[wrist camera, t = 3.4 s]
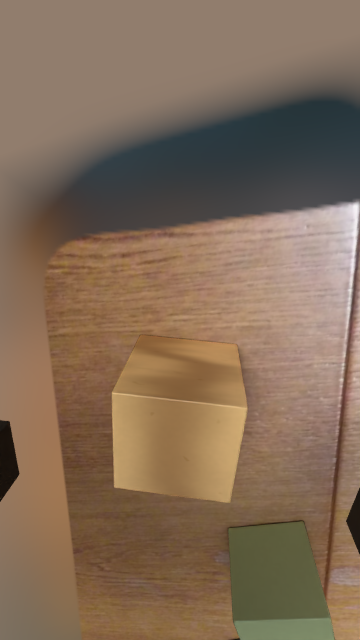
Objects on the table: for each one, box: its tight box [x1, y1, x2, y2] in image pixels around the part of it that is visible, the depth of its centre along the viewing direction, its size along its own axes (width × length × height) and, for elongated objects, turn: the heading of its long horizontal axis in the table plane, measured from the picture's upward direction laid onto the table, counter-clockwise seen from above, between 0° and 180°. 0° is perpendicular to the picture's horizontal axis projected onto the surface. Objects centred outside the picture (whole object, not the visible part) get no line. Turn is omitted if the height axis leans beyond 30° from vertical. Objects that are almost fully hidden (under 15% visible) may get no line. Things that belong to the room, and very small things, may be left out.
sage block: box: [228, 521, 335, 640], centre depth 19 cm, size 5×5×5 cm
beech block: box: [111, 335, 248, 503], centre depth 14 cm, size 5×5×5 cm
